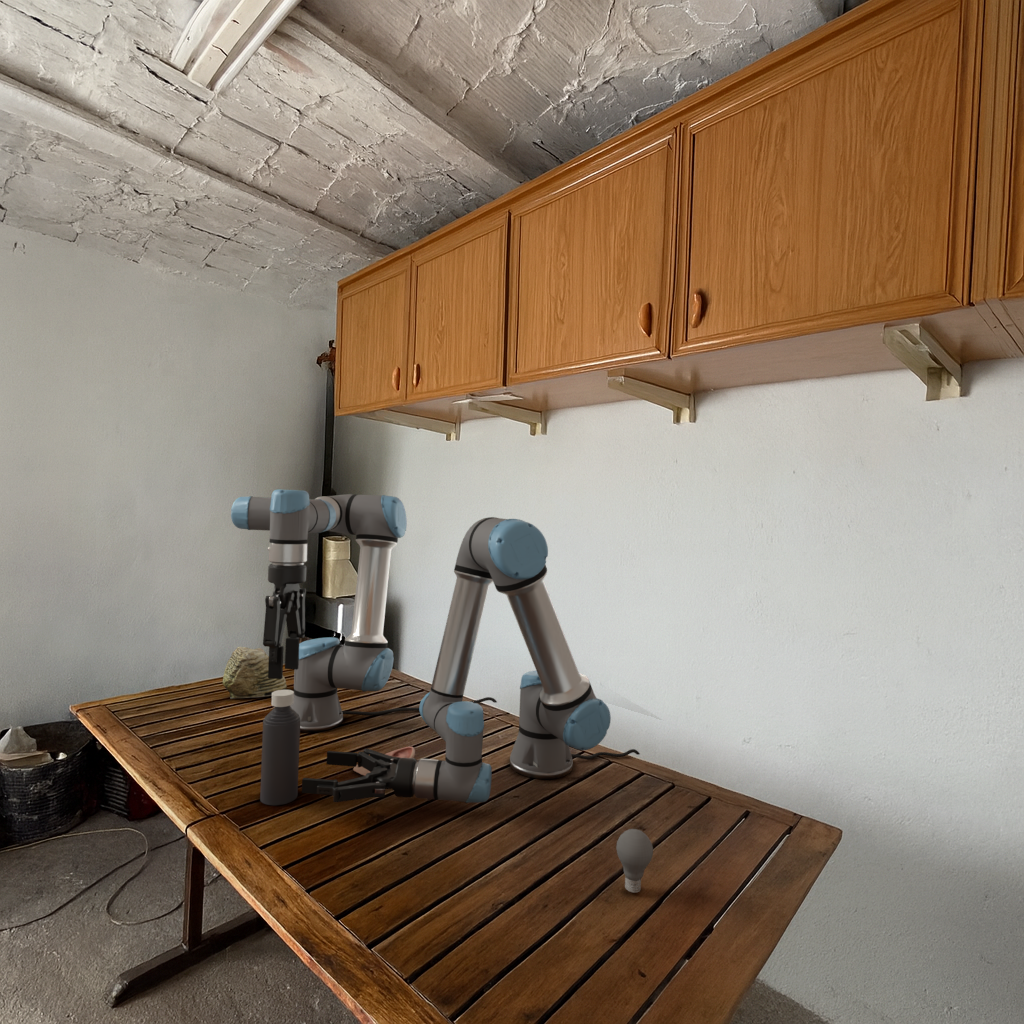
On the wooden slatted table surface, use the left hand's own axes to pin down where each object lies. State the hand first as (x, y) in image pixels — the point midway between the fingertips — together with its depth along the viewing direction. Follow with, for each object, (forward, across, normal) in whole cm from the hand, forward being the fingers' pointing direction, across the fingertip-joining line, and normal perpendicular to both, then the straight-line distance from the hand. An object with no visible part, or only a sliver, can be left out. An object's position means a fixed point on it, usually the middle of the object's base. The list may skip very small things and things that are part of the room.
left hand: (283, 673), depth 132 cm
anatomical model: (+26, -18, +17) cm, 36 cm away
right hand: (+20, 0, +8) cm, 21 cm away
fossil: (+26, -61, -39) cm, 77 cm away
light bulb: (+26, +20, +72) cm, 79 cm away
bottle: (+26, 0, 0) cm, 26 cm away
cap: (+4, 0, 0) cm, 4 cm away
